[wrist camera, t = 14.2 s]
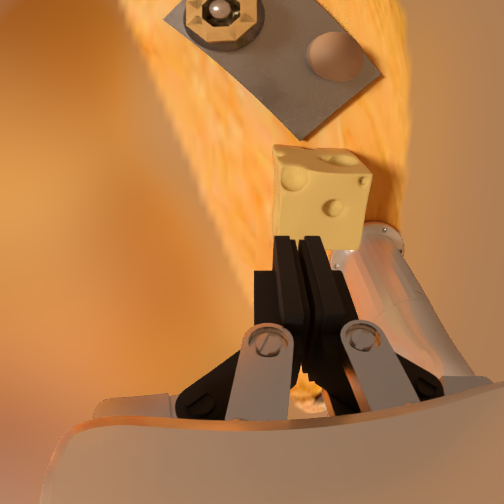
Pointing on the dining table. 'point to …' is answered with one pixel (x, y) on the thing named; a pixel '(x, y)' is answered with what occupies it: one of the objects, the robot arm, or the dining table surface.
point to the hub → (223, 16)
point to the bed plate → (287, 64)
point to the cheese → (320, 195)
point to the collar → (234, 33)
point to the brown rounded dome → (335, 56)
